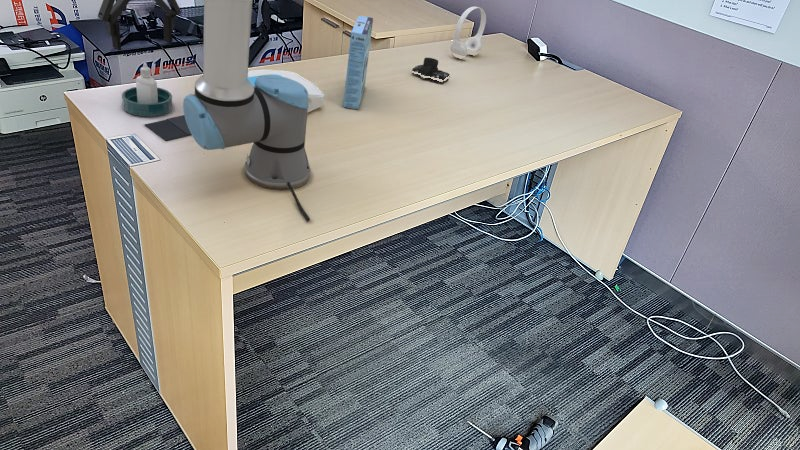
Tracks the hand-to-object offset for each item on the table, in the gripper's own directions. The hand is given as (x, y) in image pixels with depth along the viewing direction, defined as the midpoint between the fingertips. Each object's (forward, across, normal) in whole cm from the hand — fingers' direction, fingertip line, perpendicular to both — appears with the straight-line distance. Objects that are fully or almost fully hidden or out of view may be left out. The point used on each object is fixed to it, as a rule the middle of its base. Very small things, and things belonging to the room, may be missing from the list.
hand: (143, 45), depth 152 cm
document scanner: (+17, -29, +12) cm, 36 cm away
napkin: (+17, 0, +14) cm, 22 cm away
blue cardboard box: (+17, -58, +20) cm, 64 cm away
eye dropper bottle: (+17, 0, 0) cm, 17 cm away
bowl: (+17, 0, 0) cm, 17 cm away
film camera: (+17, -97, +20) cm, 100 cm away
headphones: (+17, -130, +11) cm, 132 cm away
